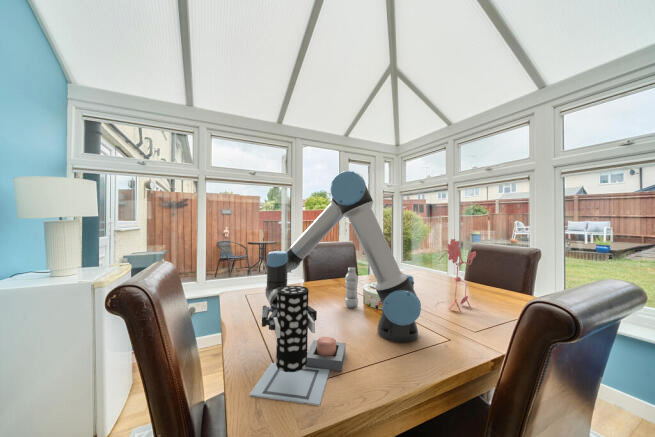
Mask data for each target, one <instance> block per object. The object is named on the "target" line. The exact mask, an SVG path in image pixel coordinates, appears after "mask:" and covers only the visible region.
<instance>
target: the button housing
mask: <svg viewBox="0 0 655 437" xmlns="http://www.w3.org/2000/svg"><path fill="white" fill-rule="evenodd" d="M317 340H318V339H317ZM317 340H316V339H313V341H312V342H311V344H310V346H309V349H307V365H306V367H310V368H319V369H328V370H330V371H334V372H342V371H343V367H344V362H345V361H344V360H345V357H346V351H347V350H346V345H347V344H346V342H340V341H336V357H333V356H324V355H317Z"/></svg>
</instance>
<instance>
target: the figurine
mask: <svg viewBox="0 0 655 437" xmlns="http://www.w3.org/2000/svg"><path fill="white" fill-rule="evenodd" d="M460 244H461V243H460V241H459V240H456V238H451V239H450V243H447V245H446V247H447V251H446V252H445V253H444V254H442V256H441V257H440V258H439V259H438V261H440V260H442V258H443V257H445V255H447V254H448V257H447V259H448V261H450V260H451V261H452V264H455V265H456V276H455V278H454V281H455V293H454V300H453V302H452V303H451V305H450V307H449V308H448V310H451V309H452V308H453V306H454V305H455V304H456V307H457V308H458V310H459V313H460V312H461V313H462V310H461V309H460V306H459V304H460V305H461V306H462V305H463V304H464V303H467V305H468V307H469V309H470V308H471V309H472V307H471V304H470V302H469V301H468V299H469V296H468V295H467V285H468V284H467V282H466V281H463V280H462V278H461V277H460V276H458V274H459V273H458V272H459V267H460V266H461V265H462V264H466V265H469V266H470V265H472V263H473V260H474V259H475V258H476V256H477V252H476V250H475V251H472V252H470V253H469V254H468V256H467V259H468V261H470V262H469V263H468V262H465V261H463V260H464V259H463V258H462V252H461V247H460ZM459 259H460V260H461V261H460V262H458V260H459ZM459 282H462V283H464V284H465V294H464V297H463V298H462V299H461V300H460V303H459V304H458V301H457V300H458V298H456V297H457V289H458V288H457V286H458V285H457V283H459ZM441 303H443V301H441V302H440V304H441ZM437 305H438V303H436V304H435V306H437ZM477 307H480V306H479V305H477Z"/></svg>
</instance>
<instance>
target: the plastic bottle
mask: <svg viewBox="0 0 655 437" xmlns="http://www.w3.org/2000/svg"><path fill="white" fill-rule="evenodd" d="M344 280H345V292H346V293H345V299H344V300H345V301H344V303H345V306H346V307H347V308H349V309H355V308H358V307H359V306H358V305H359V298H358V285H359V284H358V282H359V276H358V275H357V273H356V266H348V268H347V273H346V274H345V277H344Z"/></svg>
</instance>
